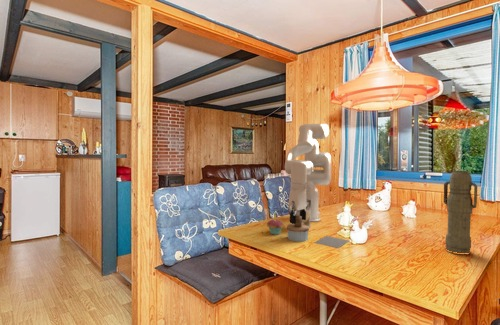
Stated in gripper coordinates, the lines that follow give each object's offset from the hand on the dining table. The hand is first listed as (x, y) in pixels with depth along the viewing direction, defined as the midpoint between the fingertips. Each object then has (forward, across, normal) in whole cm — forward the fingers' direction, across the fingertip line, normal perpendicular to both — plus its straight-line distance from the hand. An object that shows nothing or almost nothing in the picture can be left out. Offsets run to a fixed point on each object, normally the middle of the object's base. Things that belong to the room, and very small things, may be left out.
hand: (297, 221), depth 141 cm
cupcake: (+9, -1, -14) cm, 17 cm away
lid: (+4, 0, 0) cm, 4 cm away
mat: (+9, -6, +15) cm, 18 cm away
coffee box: (+9, -18, -8) cm, 22 cm away
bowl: (+9, 0, 0) cm, 9 cm away
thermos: (+9, -30, +62) cm, 69 cm away
